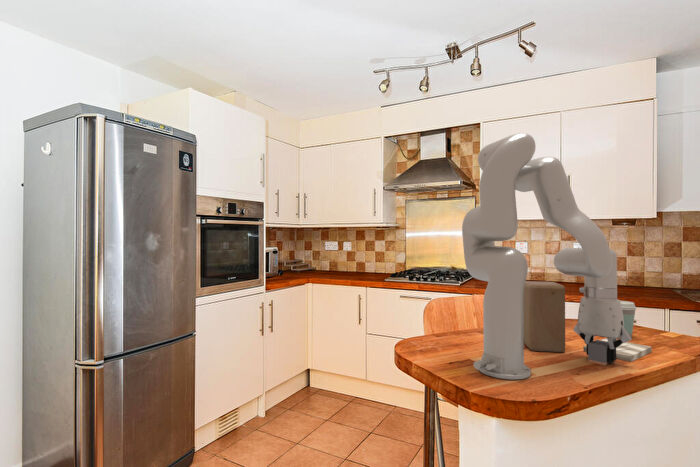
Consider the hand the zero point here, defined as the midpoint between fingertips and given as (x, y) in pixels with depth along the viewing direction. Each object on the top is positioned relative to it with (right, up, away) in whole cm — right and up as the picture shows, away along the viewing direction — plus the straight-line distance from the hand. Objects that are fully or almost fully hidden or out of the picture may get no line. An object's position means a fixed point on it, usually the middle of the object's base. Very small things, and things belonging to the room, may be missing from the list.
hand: (601, 359), depth 105 cm
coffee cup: (+23, -1, +25) cm, 35 cm away
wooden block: (-9, -1, +13) cm, 16 cm away
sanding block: (0, 0, 0) cm, 0 cm away
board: (+11, 0, +9) cm, 14 cm away
